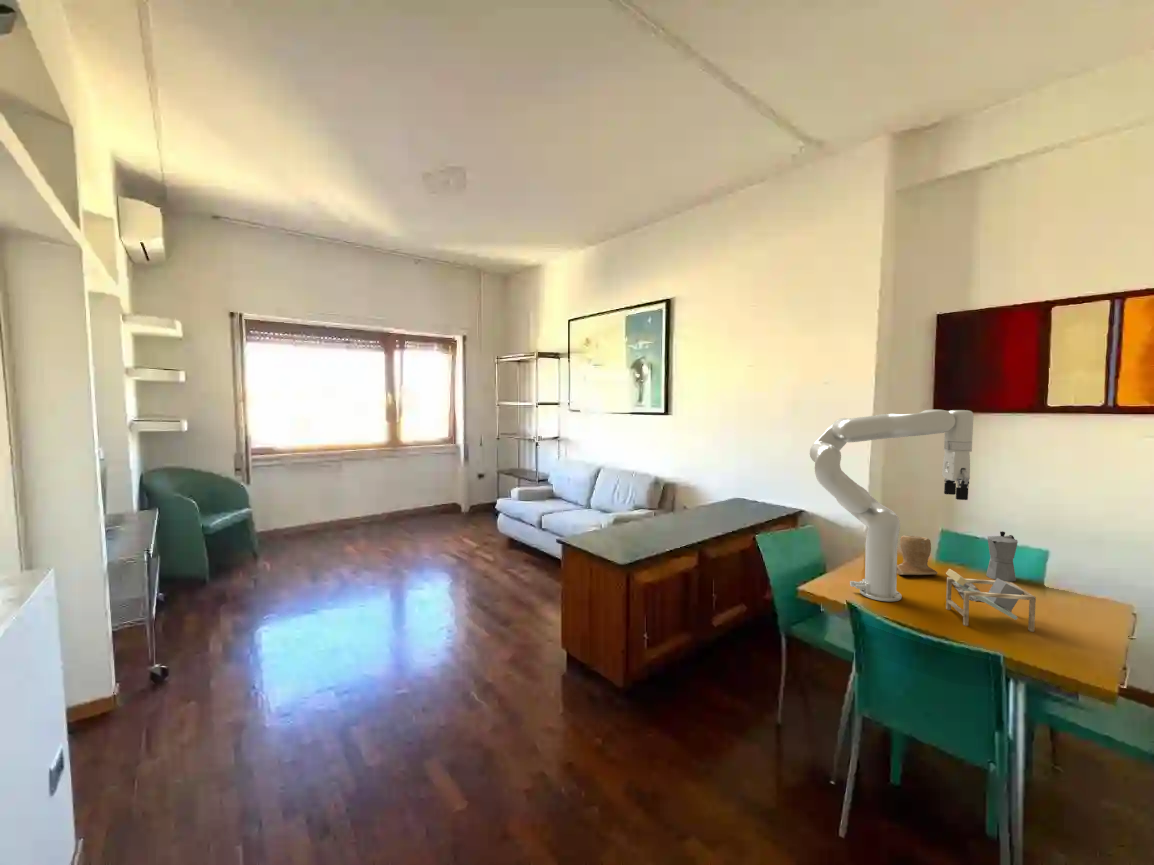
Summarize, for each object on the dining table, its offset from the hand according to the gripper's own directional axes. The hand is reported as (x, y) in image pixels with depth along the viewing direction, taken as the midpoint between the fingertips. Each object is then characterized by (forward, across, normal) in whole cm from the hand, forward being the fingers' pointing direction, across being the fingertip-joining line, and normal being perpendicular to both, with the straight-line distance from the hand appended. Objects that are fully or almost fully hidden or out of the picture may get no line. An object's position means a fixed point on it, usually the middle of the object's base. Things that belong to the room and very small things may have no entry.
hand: (955, 496), depth 170 cm
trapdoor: (+29, +15, +2) cm, 32 cm away
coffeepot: (+36, -31, +27) cm, 54 cm away
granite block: (+31, +15, +7) cm, 35 cm away
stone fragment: (+37, -13, +8) cm, 40 cm away
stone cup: (+36, -27, -4) cm, 45 cm away
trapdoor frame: (+36, +15, +5) cm, 39 cm away
